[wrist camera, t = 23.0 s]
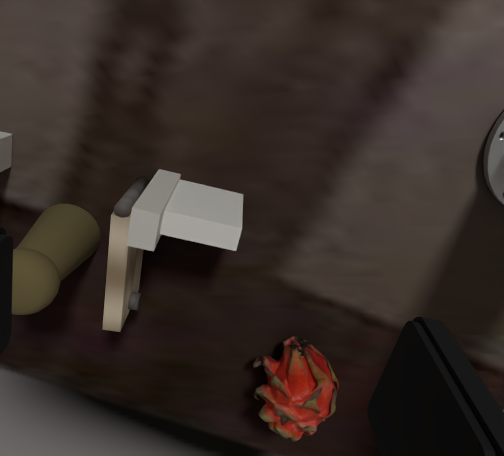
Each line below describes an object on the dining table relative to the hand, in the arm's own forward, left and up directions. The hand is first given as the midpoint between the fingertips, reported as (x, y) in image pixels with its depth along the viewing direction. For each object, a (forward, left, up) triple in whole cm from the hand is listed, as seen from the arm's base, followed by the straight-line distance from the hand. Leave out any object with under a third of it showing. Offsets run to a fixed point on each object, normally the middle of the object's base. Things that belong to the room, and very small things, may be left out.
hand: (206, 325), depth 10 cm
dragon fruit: (-12, +25, -30) cm, 41 cm away
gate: (+6, +13, -29) cm, 33 cm away
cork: (+13, +15, -30) cm, 36 cm away
